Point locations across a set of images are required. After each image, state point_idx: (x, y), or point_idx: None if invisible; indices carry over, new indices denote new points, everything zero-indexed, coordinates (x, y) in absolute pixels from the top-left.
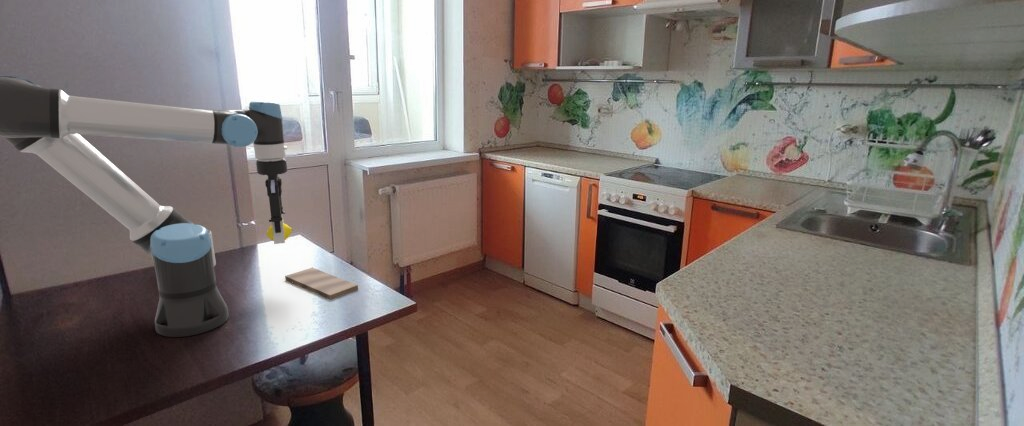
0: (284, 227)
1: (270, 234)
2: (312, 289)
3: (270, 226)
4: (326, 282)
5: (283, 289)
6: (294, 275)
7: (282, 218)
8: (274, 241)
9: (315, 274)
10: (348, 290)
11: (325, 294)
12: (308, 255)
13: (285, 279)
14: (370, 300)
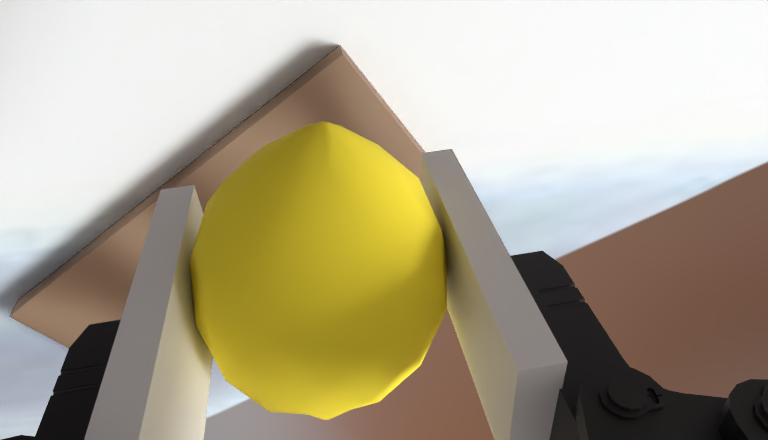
0: (257, 402)
1: (209, 211)
2: (122, 223)
3: (312, 261)
4: None
5: (168, 57)
6: (339, 111)
7: (486, 414)
8: (156, 211)
9: None
10: None
11: (38, 290)
12: (722, 120)
13: (339, 46)
14: (22, 421)
